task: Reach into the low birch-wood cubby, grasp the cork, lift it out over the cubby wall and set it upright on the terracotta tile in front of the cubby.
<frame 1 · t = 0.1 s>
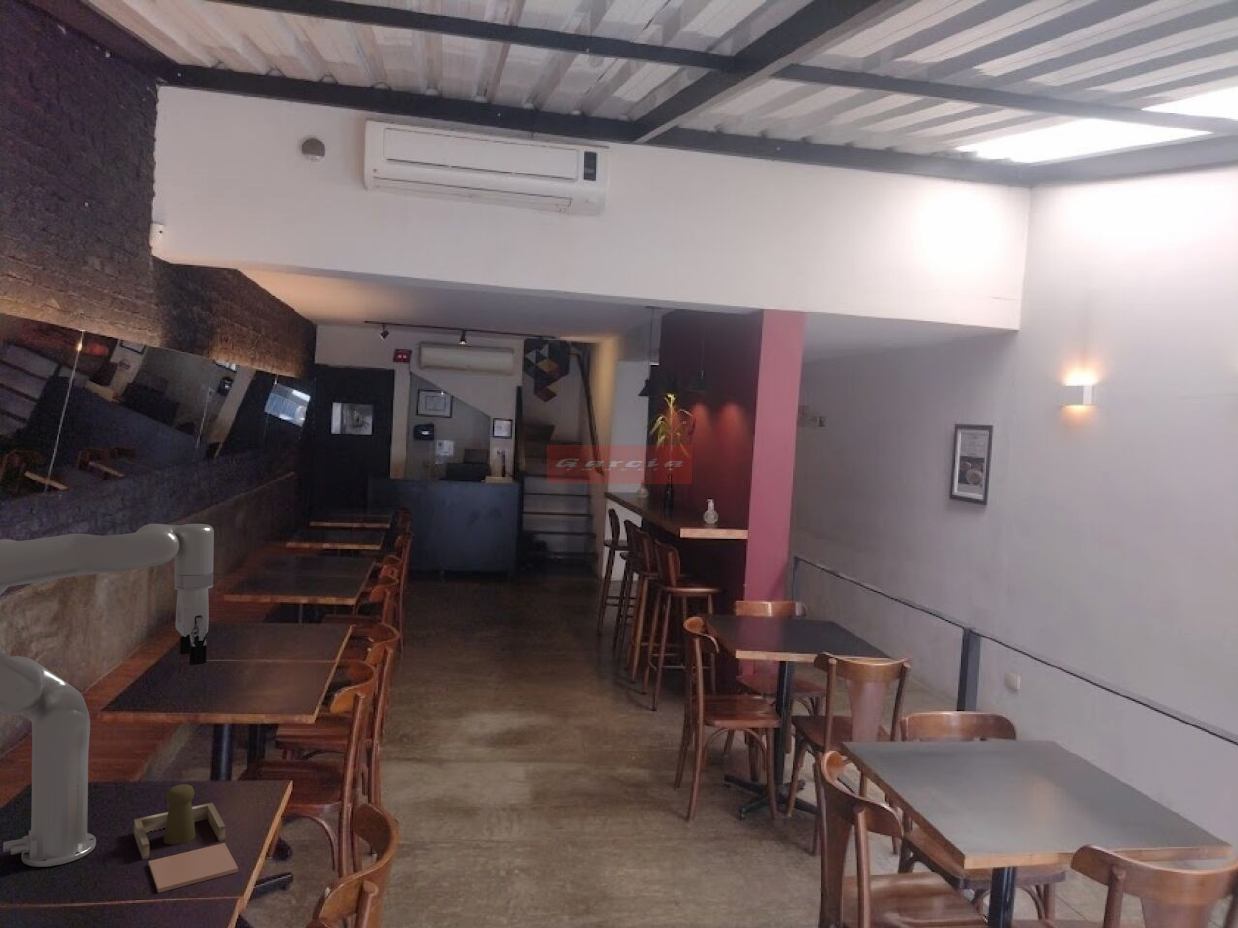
hand: (192, 658, 184), 37 cm above the table, tool pointing down, fingers open, 9 cm apart
tile: (193, 868, 167), on the table
cubby: (179, 837, 179), on the table
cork: (179, 838, 179), on the table
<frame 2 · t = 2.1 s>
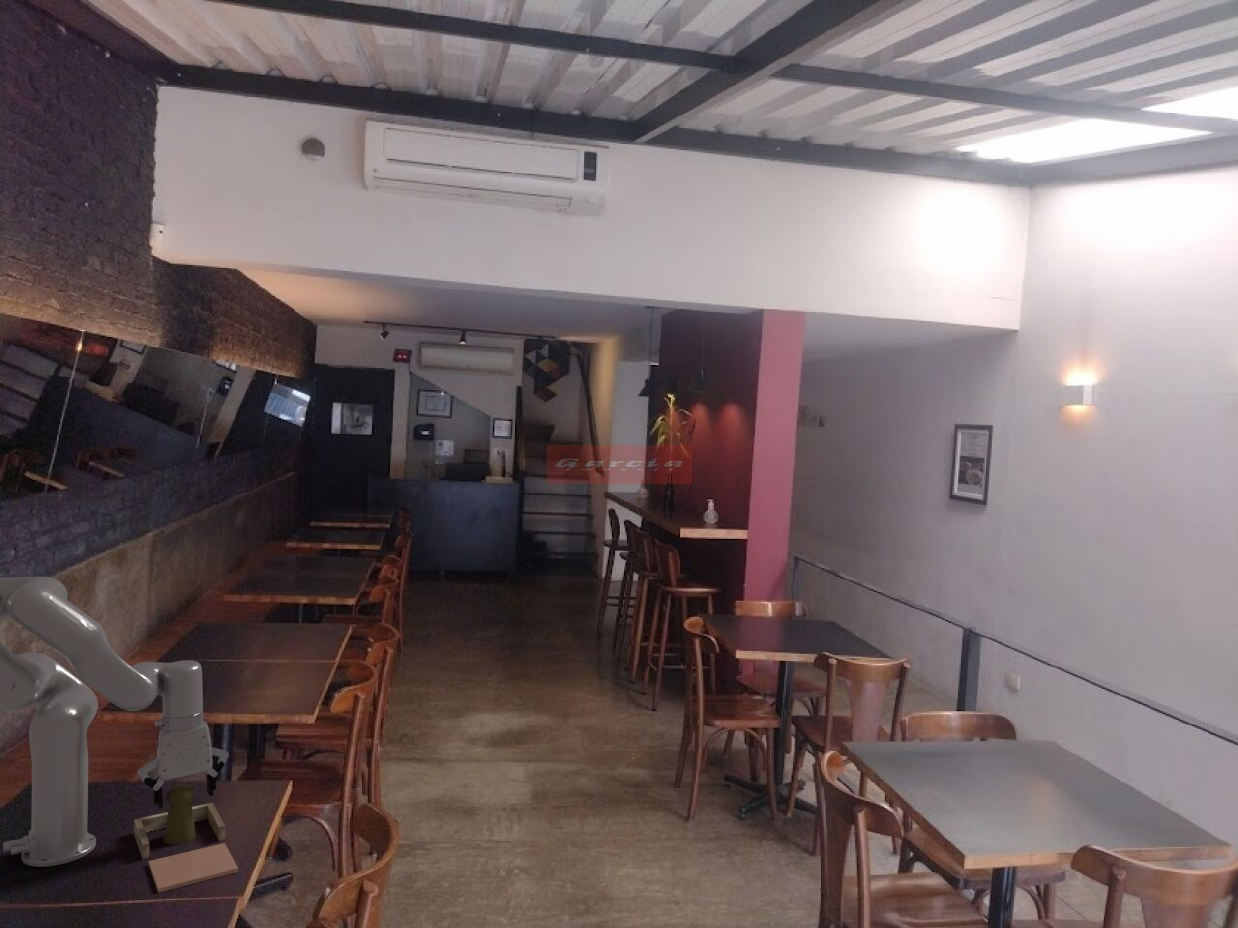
hand: (185, 799, 179), 8 cm above the table, tool pointing down, fingers open, 9 cm apart
nothing on the table moved.
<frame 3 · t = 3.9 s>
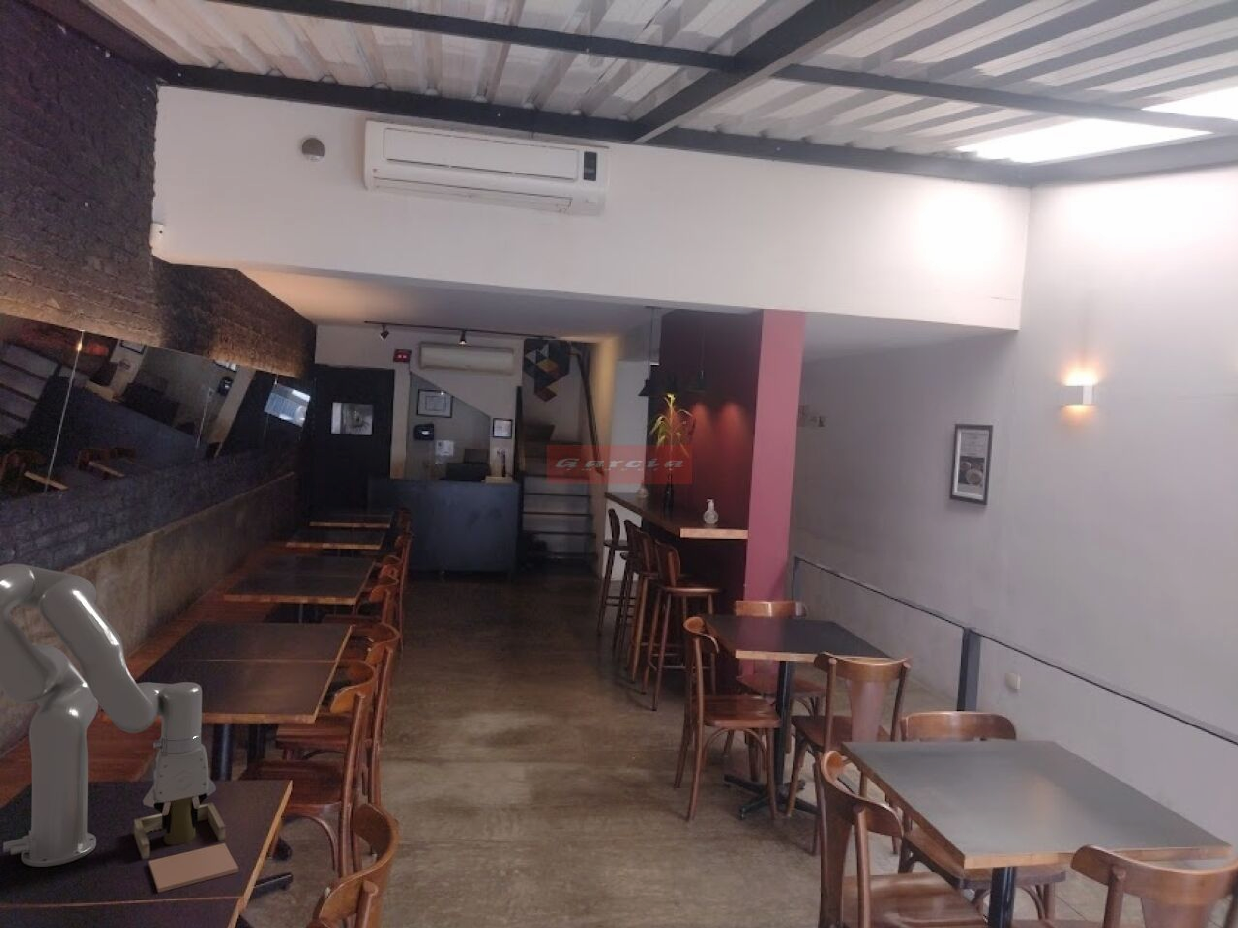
hand: (179, 826, 179), 2 cm above the table, tool pointing down, fingers closed on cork, 3 cm apart
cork: (179, 838, 179), on the table, touching gripper
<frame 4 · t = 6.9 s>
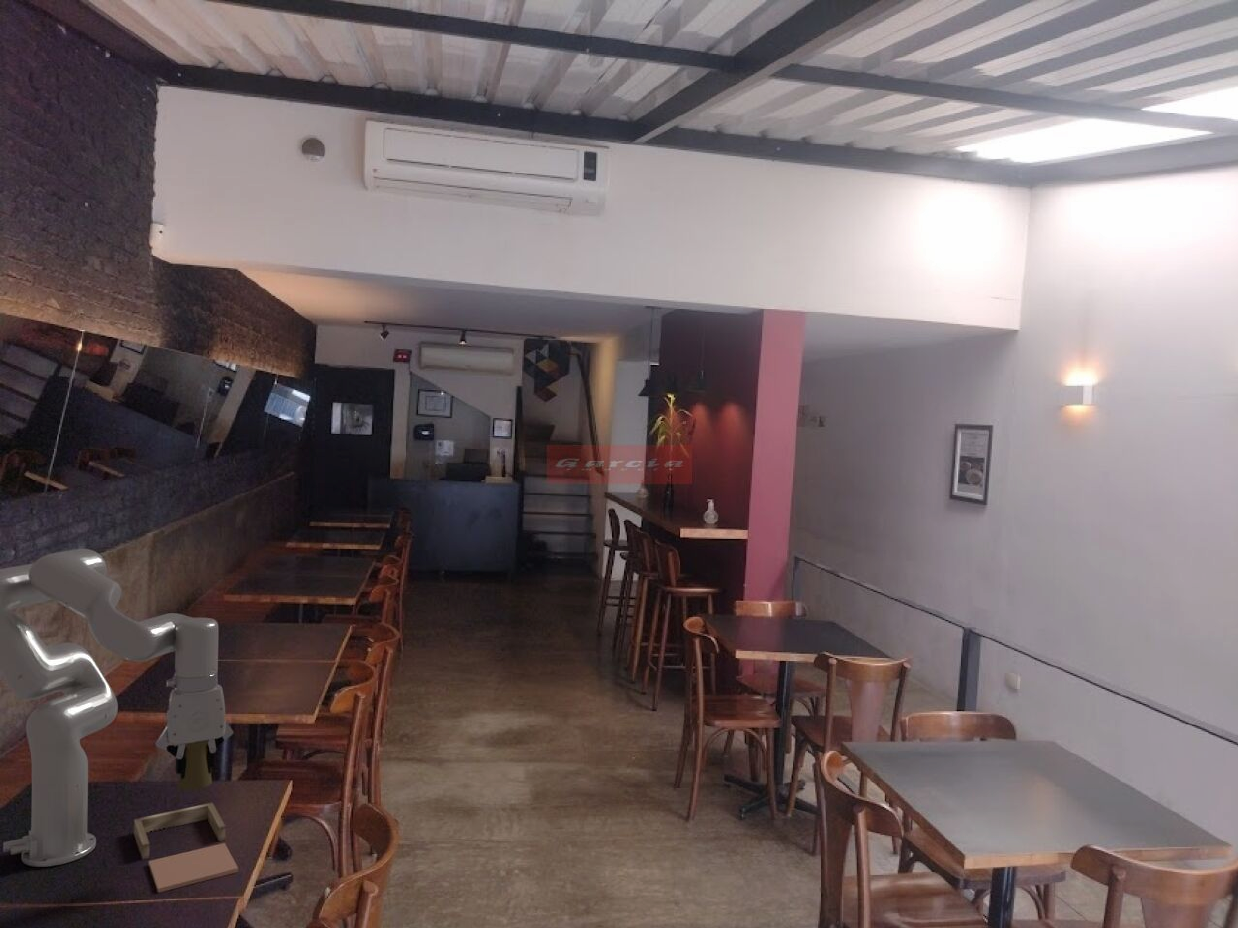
hand: (194, 772, 167), 19 cm above the table, tool pointing down, fingers closed on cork, 3 cm apart
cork: (194, 784, 167), point 17 cm above the table, touching gripper
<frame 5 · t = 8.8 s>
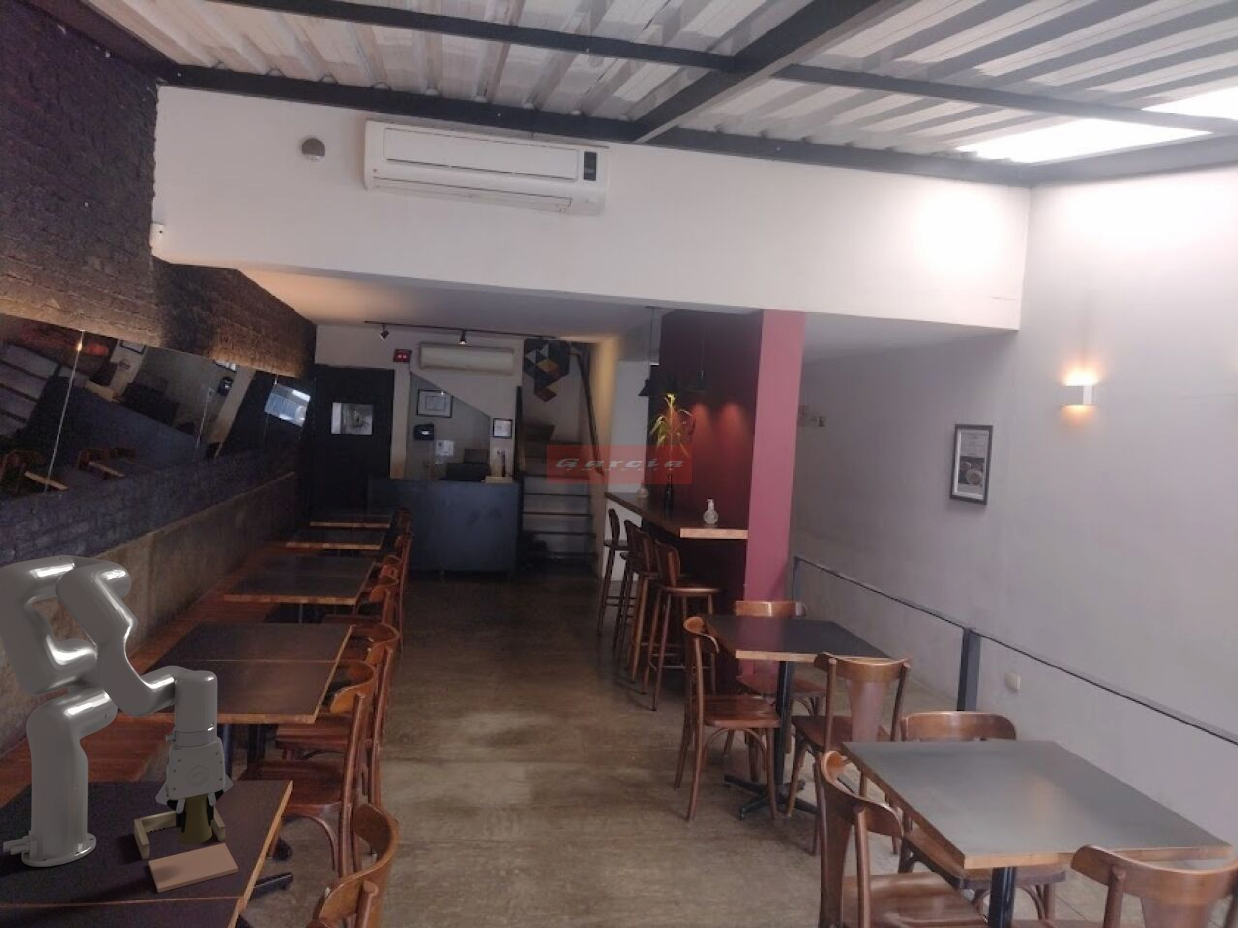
hand: (194, 825, 167), 9 cm above the table, tool pointing down, fingers closed on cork, 3 cm apart
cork: (195, 838, 167), point 6 cm above the table, touching gripper
when the fingers open (4 cm above the table, at t = 10.4 s): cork stays where it is, resting on tile.
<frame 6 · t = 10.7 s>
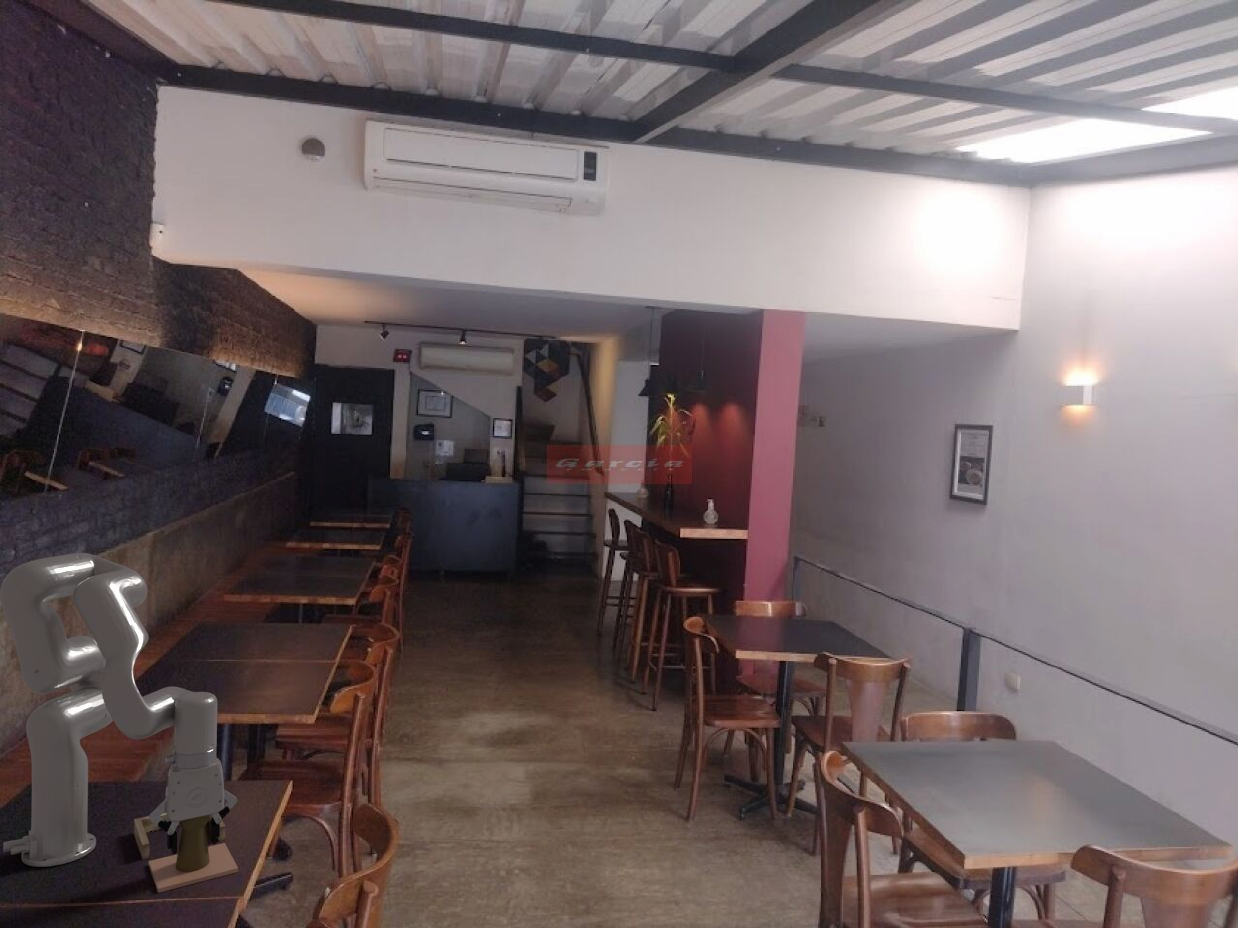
hand: (193, 845, 167), 5 cm above the table, tool pointing down, fingers open, 6 cm apart
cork: (192, 864, 167), point 1 cm above the table, touching tile
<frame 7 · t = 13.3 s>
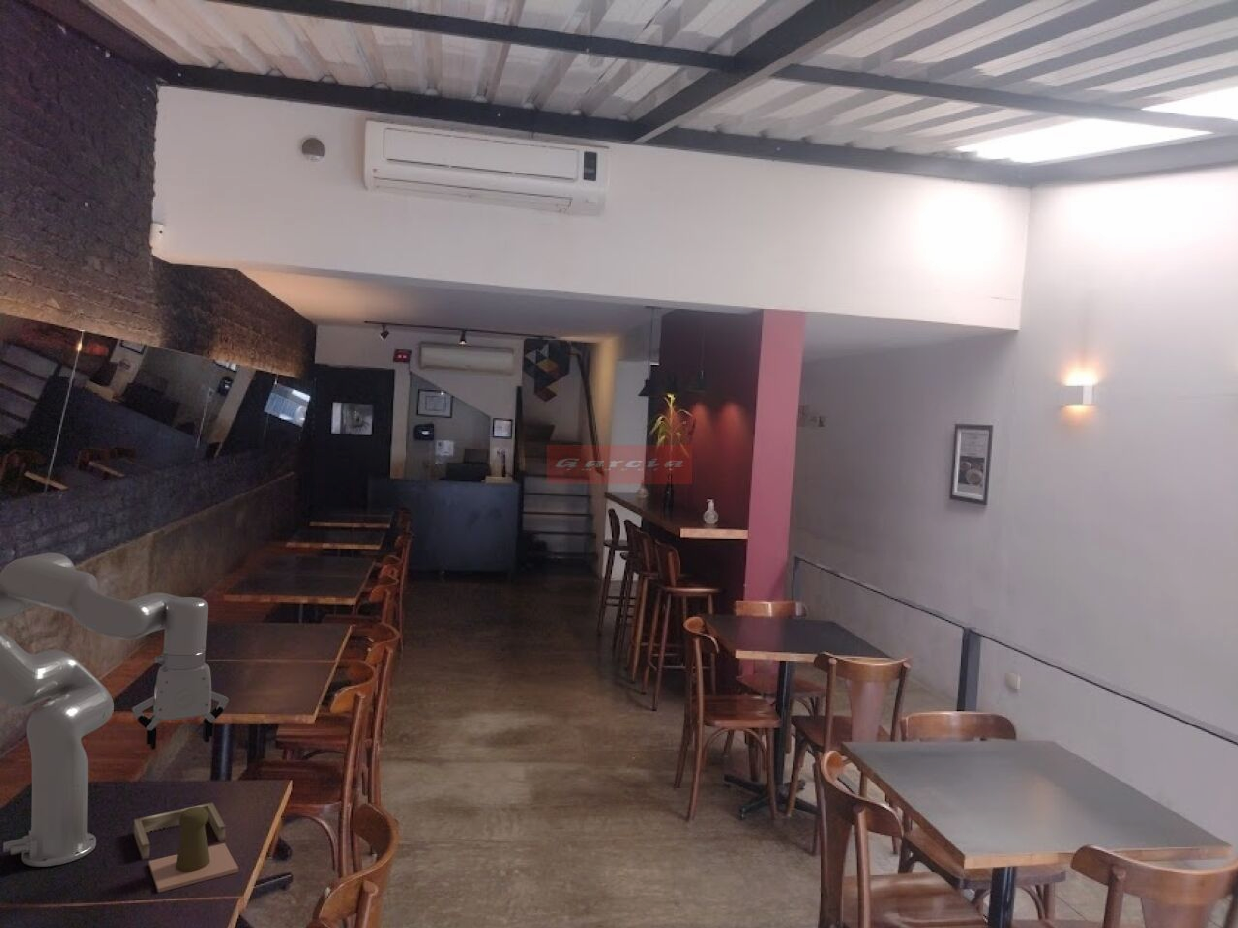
hand: (179, 743, 170), 23 cm above the table, tool pointing down, fingers open, 9 cm apart
nothing on the table moved.
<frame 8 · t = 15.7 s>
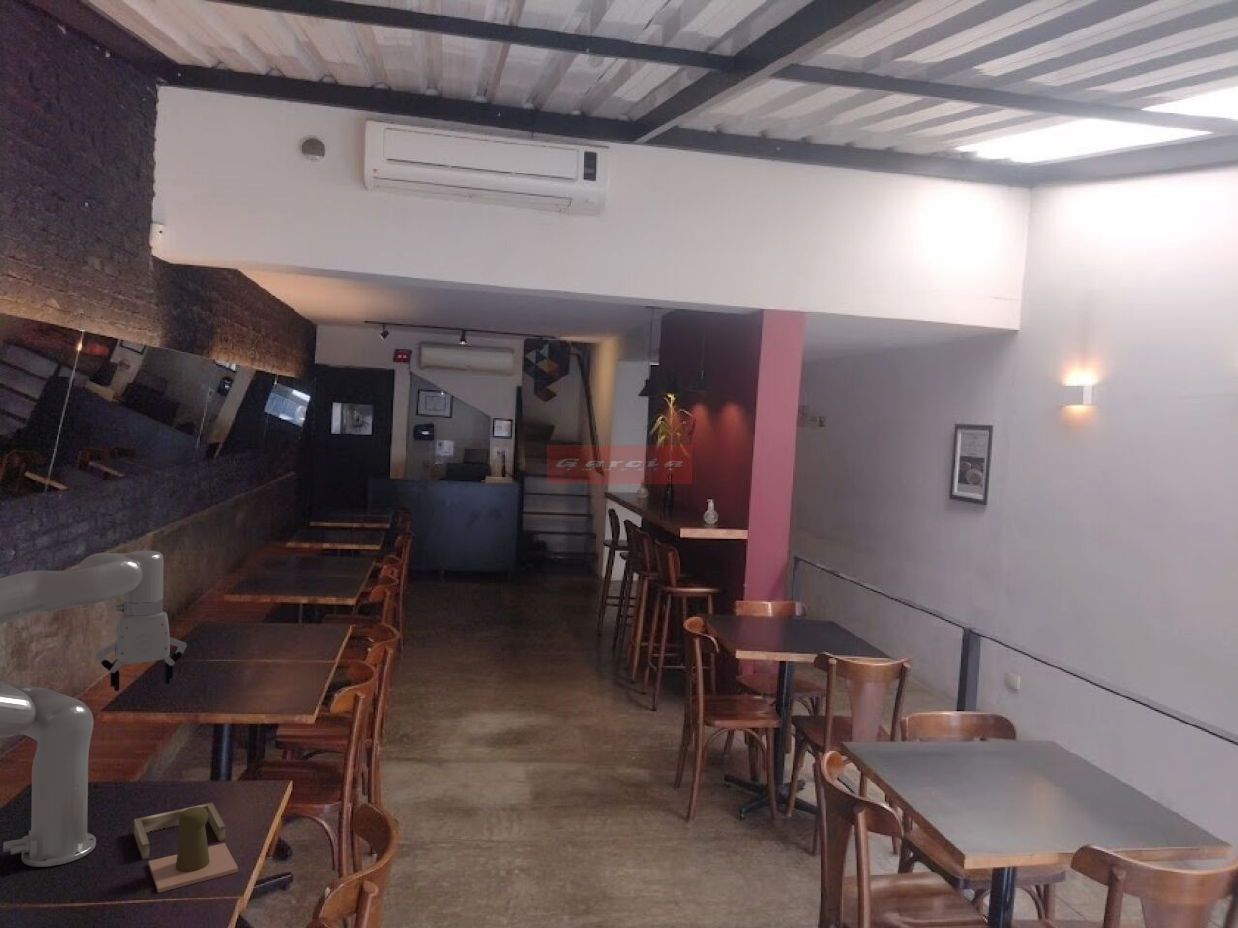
hand: (141, 685, 184), 30 cm above the table, tool pointing down, fingers open, 9 cm apart
nothing on the table moved.
at the end: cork inside the target area (0.2 cm from its centre), point 0.6 cm above the table; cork tilted 0°; the gripper is holding nothing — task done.
